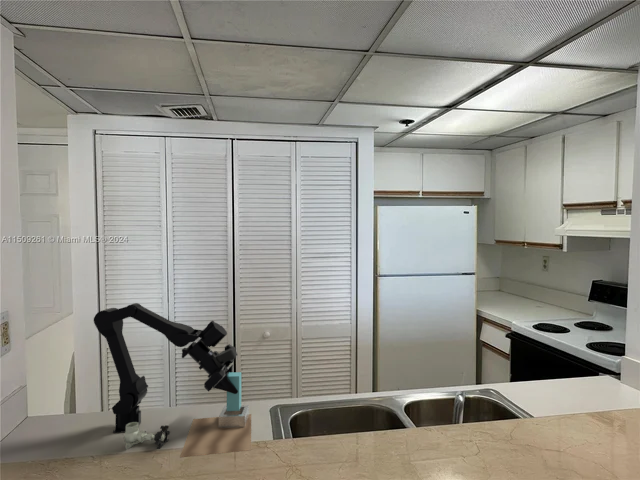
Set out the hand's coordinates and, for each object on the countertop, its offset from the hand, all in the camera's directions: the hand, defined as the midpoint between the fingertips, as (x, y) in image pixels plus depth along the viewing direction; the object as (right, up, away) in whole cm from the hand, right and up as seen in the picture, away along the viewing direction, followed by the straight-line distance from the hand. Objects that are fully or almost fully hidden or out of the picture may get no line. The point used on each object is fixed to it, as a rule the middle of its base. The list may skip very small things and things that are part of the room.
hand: (238, 390), depth 120 cm
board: (-4, -11, -8) cm, 14 cm away
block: (-1, -6, 0) cm, 6 cm away
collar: (-1, -10, 0) cm, 10 cm away
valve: (-24, -11, -14) cm, 30 cm away
